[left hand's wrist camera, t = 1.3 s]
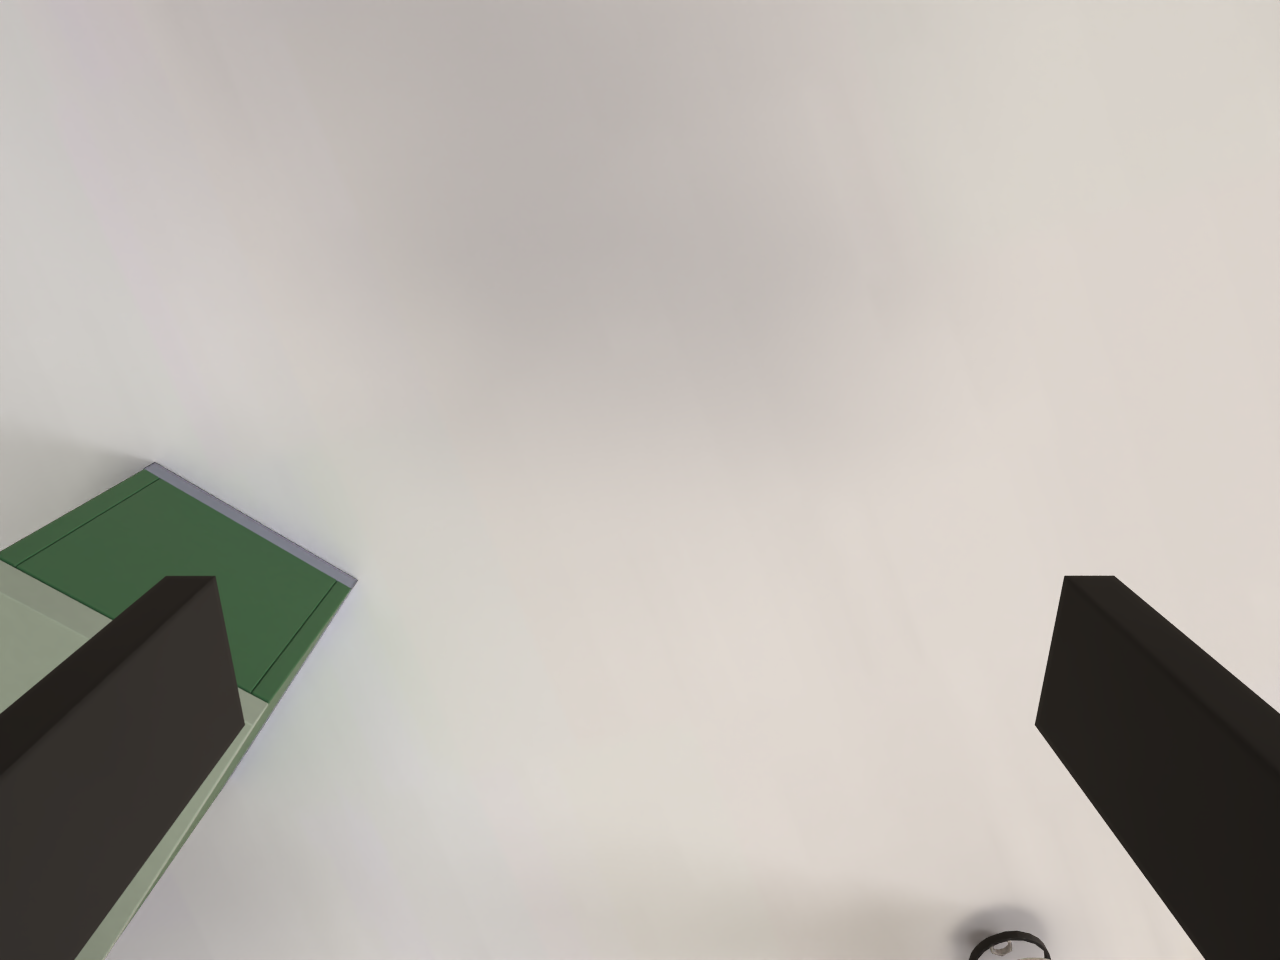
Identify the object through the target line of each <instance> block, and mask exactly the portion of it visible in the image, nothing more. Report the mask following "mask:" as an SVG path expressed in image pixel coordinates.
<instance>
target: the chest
mask: <svg viewBox="0 0 1280 960" xmlns="http://www.w3.org/2000/svg"><path fill="white" fill-rule="evenodd" d="M0 560H1V561H3V562H5V563H7V564H9V565H10V566H12V567H14V568H16V569H18V570H20V571H22V572H23V573H25V574H27V575H29V576H31V577H33V578H35V579H37V580H38V581H40V582H42V583H44V584H46V585H48V586H50V587H51V588H53V589H55V590H57V591H59V592H61V593H63V594H65V595H66V596H68V597H70V598H72V599H74V600H76V601H78V602H79V603H81V604H83V605H85V606H87V607H89V608H91V609H93V610H94V611H96V612H98V613H100V614H102V615H104V616H106V617H108V618H109V619H111V620H113V619H115V618H116V617H117V616H118V615H119V614H121V613H122V612H123V611H124V610H125V609H127V608H128V607H129V606H130V605H132V604H133V603H134V602H135V601H136V600H138V599H139V598H140V597H141V596H142V595H144V594H145V593H146V592H147V591H148V590H150V589H151V588H152V587H153V586H154V585H156V584H157V583H158V582H159V581H160V580H162V579H163V578H164V577H165V576H216V581H217V586H218V591H219V596H220V601H221V606H222V611H223V616H224V621H225V626H226V631H227V636H228V641H229V646H230V651H231V656H232V661H233V666H234V671H235V676H236V681H237V686H238V688H240V689H242V690H244V691H246V692H248V693H249V694H251V695H253V696H255V697H257V698H259V699H261V700H263V701H264V702H266V703H268V706H267V708H266V709H265V711H264V712H263V714H262V716H261V717H260V719H259V720H258V722H257V723H256V725H255V726H254V728H253V730H252V731H251V733H250V734H249V736H248V737H247V739H246V740H245V742H244V744H243V745H242V747H241V748H240V750H239V751H238V753H237V754H236V756H235V757H234V759H233V761H232V762H231V764H230V765H229V767H228V768H227V770H226V771H225V773H224V775H223V776H222V778H221V779H220V781H219V782H218V784H217V785H216V787H215V789H214V790H213V792H212V793H211V795H210V796H209V798H208V799H207V801H206V803H205V804H204V806H203V807H202V809H201V810H200V812H199V813H198V815H197V817H196V818H195V820H194V821H193V823H192V824H191V826H190V827H189V829H188V831H187V832H186V834H185V835H184V837H183V838H182V840H181V841H180V843H179V845H178V846H177V848H176V849H175V851H174V852H173V854H172V855H171V857H170V859H169V860H168V862H167V863H166V865H165V866H164V868H163V869H162V871H161V873H160V874H159V876H158V877H157V879H156V880H155V882H154V883H153V885H152V887H151V888H150V890H149V891H148V893H147V894H146V896H145V897H144V899H143V901H142V902H141V904H140V905H139V907H138V908H137V910H136V911H135V913H134V914H133V916H132V918H133V917H134V915H135V914H136V912H137V911H138V909H139V908H140V907H141V905H142V904H143V902H144V901H145V899H146V898H147V896H148V895H149V894H150V892H151V891H152V889H153V888H154V886H155V885H156V883H157V882H158V881H159V879H160V878H161V876H162V875H163V873H164V872H165V870H166V869H167V868H168V866H169V865H170V863H171V862H172V860H173V859H174V857H175V856H176V855H177V853H178V852H179V850H180V849H181V847H182V846H183V844H184V843H185V842H186V840H187V839H188V837H189V836H190V834H191V833H192V831H193V830H194V829H195V827H196V826H197V824H198V823H199V821H200V820H201V818H202V817H203V816H204V814H205V813H206V811H207V810H208V808H209V807H210V805H211V804H212V803H213V801H214V800H215V798H216V797H217V795H218V794H219V793H220V791H221V790H222V789H223V787H224V786H225V784H226V783H227V781H228V780H229V778H230V777H231V775H232V774H233V772H234V771H235V769H236V768H237V766H238V764H239V763H240V761H241V760H242V758H243V757H244V755H245V754H246V752H247V751H248V749H249V747H250V746H251V744H252V743H253V741H254V740H255V738H256V737H257V735H258V734H259V732H260V730H261V729H262V727H263V726H264V724H265V723H266V721H267V720H268V718H269V717H270V715H271V714H272V712H273V710H274V709H275V707H276V706H277V704H278V703H279V701H280V700H281V698H282V697H283V695H284V693H285V692H286V690H287V689H288V687H289V686H290V684H291V683H292V681H293V680H294V678H295V676H296V675H297V673H298V672H299V670H300V669H301V667H302V666H303V664H304V663H305V661H306V659H307V658H308V656H309V655H310V653H311V652H312V650H313V649H314V647H315V646H316V644H317V642H318V641H319V639H320V638H321V636H322V635H323V633H324V632H325V630H326V629H327V627H328V625H329V624H330V622H331V621H332V619H333V618H334V616H335V615H336V613H337V612H338V610H339V608H340V607H341V605H342V604H343V602H344V601H345V599H346V598H347V596H348V595H349V593H350V592H351V590H352V588H353V587H354V585H355V584H356V582H357V581H358V580H356V579H355V578H353V577H351V576H350V575H348V574H346V573H344V572H343V571H341V570H339V569H338V568H336V567H334V566H332V565H331V564H329V563H327V562H325V561H324V560H322V559H320V558H319V557H317V556H315V555H313V554H312V553H310V552H308V551H307V550H305V549H303V548H301V547H300V546H298V545H296V544H295V543H293V542H291V541H289V540H288V539H286V538H284V537H282V536H281V535H279V534H277V533H276V532H274V531H272V530H270V529H269V528H267V527H265V526H264V525H262V524H260V523H258V522H257V521H255V520H253V519H252V518H250V517H248V516H246V515H245V514H243V513H241V512H239V511H238V510H236V509H234V508H233V507H231V506H229V505H227V504H226V503H224V502H222V501H221V500H219V499H217V498H215V497H214V496H212V495H210V494H209V493H207V492H205V491H203V490H202V489H200V488H198V487H196V486H195V485H193V484H191V483H190V482H188V481H186V480H184V479H183V478H181V477H179V476H178V475H176V474H174V473H172V472H171V471H169V470H167V469H166V468H164V467H162V466H160V465H159V464H157V463H155V462H154V463H153V464H151V465H149V466H147V467H146V468H144V469H143V470H142V471H140V472H138V473H137V474H135V475H133V476H131V477H130V478H128V479H126V480H124V481H123V482H121V483H119V484H118V485H116V486H114V487H112V488H111V489H109V490H107V491H105V492H104V493H102V494H100V495H98V496H97V497H95V498H93V499H91V500H90V501H88V502H86V503H84V504H83V505H81V506H79V507H77V508H76V509H74V510H72V511H70V512H69V513H67V514H65V515H63V516H62V517H60V518H58V519H56V520H55V521H53V522H51V523H49V524H48V525H46V526H44V527H42V528H41V529H39V530H37V531H35V532H34V533H32V534H30V535H28V536H27V537H25V538H23V539H21V540H20V541H18V542H16V543H14V544H13V545H11V546H9V547H7V548H6V549H4V550H2V551H0ZM132 918H131V919H132ZM131 919H130V921H131ZM130 921H129V922H130ZM129 922H128V924H129ZM128 924H127V925H128ZM127 925H126V927H127ZM126 927H125V928H126ZM125 928H124V930H125ZM124 930H123V931H124ZM121 934H122V933H121ZM119 937H120V936H119ZM117 940H118V939H117Z"/></svg>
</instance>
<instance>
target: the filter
mask: <svg viewBox="0 0 1280 960" xmlns="http://www.w3.org/2000/svg"><path fill="white" fill-rule="evenodd" d="M1011 940H1023V941H1027V942H1030V943H1034V944H1036V945H1037V946H1038V947H1040V948H1041V949H1042V950H1044V958H1024V959H1019V960H1051V958H1050V955H1049V952H1048V951H1047V949H1046V947H1045V945H1044V943H1043V942H1042V941H1041V940H1040V939H1039V938H1037V937H1035V936H1033V935H1031V934H1029V933H1025V932H1020V931H1007V932H1002V933H999V934H996V935H993V936H990V937H988V938H986V939H984V940H983V941H981V942H980V943H979V944H978V945H977V946H976V947H975V948H974V950H973V951H972V953H971V955H970V958H969V960H978V958H979V957H980V956H981V955H982V954H983V953H984V952H985V951H986V950H988V949H989V948H990V950H991V952H992V954H996V955H999V956H1004V955H1005V954H1007V953H1009V952H1011V951H1012V942H1011ZM1002 942H1008V945H1007V946H1006V947H1005V948H1003V949H994V948H993V947H994V945H996V944H999V943H1002Z"/></svg>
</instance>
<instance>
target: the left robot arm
mask: <svg viewBox="0 0 1280 960" xmlns="http://www.w3.org/2000/svg"><path fill="white" fill-rule="evenodd" d="M244 726H245V722H244V717H243V712H242V707H241V702H240V697H239V691H238V686H237V681H236V676H235V671H234V666H233V661H232V656H231V651H230V646H229V641H228V636H227V631H226V626H225V621H224V616H223V611H222V606H221V601H220V596H219V591H218V586H217V581H216V576H165V577H164V578H163V579H162V580H160V581H159V582H158V583H157V584H156V585H154V586H153V587H152V588H151V589H150V590H148V591H147V592H146V593H145V594H144V595H142V596H141V597H140V598H139V599H138V600H136V601H135V602H134V603H133V604H132V605H130V606H129V607H128V608H127V609H125V610H124V611H123V612H122V613H121V614H119V615H118V616H117V617H116V618H115V619H113V620H112V621H111V622H110V623H109V624H107V625H106V626H105V627H104V628H103V629H101V630H100V631H99V632H98V633H97V634H95V635H94V636H93V637H92V638H91V639H89V640H88V641H87V642H86V643H85V644H83V645H82V646H81V647H80V648H79V649H77V650H76V651H75V652H74V653H73V654H71V655H70V656H69V657H68V658H67V659H65V660H64V661H63V662H62V663H61V664H59V665H58V666H57V667H56V668H55V669H53V670H52V671H51V672H50V673H49V674H47V675H46V676H45V677H44V678H43V679H41V680H40V681H39V682H38V683H37V684H35V685H34V686H33V687H32V688H31V689H29V690H28V691H27V692H26V693H25V694H23V695H22V696H21V697H20V698H19V699H17V700H16V701H15V702H14V703H13V704H11V705H10V706H9V707H8V708H7V709H5V710H4V711H3V712H2V713H1V714H0V960H75V958H76V957H77V956H78V954H79V953H80V952H81V950H82V949H83V947H84V946H85V945H86V943H87V942H88V941H89V939H90V938H91V936H92V935H93V934H94V932H95V931H96V930H97V928H98V927H99V925H100V924H101V923H102V921H103V920H104V919H105V917H106V916H107V914H108V913H109V912H110V910H111V909H112V908H113V906H114V905H115V903H116V902H117V901H118V899H119V898H120V897H121V895H122V894H123V892H124V891H125V890H126V888H127V887H128V885H129V884H130V883H131V881H132V880H133V879H134V877H135V876H136V874H137V873H138V872H139V870H140V869H141V868H142V866H143V865H144V863H145V862H146V861H147V859H148V858H149V857H150V855H151V854H152V852H153V851H154V850H155V848H156V847H157V846H158V844H159V843H160V841H161V840H162V839H163V837H164V836H165V835H166V833H167V832H168V830H169V829H170V828H171V826H172V825H173V824H174V822H175V821H176V819H177V818H178V817H179V815H180V814H181V813H182V811H183V810H184V808H185V807H186V806H187V804H188V803H189V802H190V800H191V799H192V797H193V796H194V795H195V793H196V792H197V790H198V789H199V788H200V786H201V785H202V784H203V782H204V781H205V779H206V778H207V777H208V775H209V774H210V773H211V771H212V770H213V768H214V767H215V766H216V764H217V763H218V762H219V760H220V759H221V757H222V756H223V755H224V753H225V752H226V751H227V749H228V748H229V746H230V745H231V744H232V742H233V741H234V740H235V738H236V737H237V735H238V734H239V733H240V731H241V730H242V729H243V727H244ZM1035 726H1036V727H1037V729H1038V730H1039V731H1040V733H1041V734H1042V735H1043V737H1044V738H1045V740H1046V741H1047V742H1048V744H1049V745H1050V746H1051V748H1052V749H1053V751H1054V752H1055V753H1056V755H1057V756H1058V757H1059V759H1060V760H1061V762H1062V763H1063V764H1064V766H1065V767H1066V768H1067V770H1068V771H1069V773H1070V774H1071V775H1072V777H1073V778H1074V779H1075V781H1076V782H1077V784H1078V785H1079V786H1080V788H1081V789H1082V790H1083V792H1084V793H1085V795H1086V796H1087V797H1088V799H1089V800H1090V802H1091V803H1092V804H1093V806H1094V807H1095V808H1096V810H1097V811H1098V813H1099V814H1100V815H1101V817H1102V818H1103V819H1104V821H1105V822H1106V824H1107V825H1108V826H1109V828H1110V829H1111V830H1112V832H1113V833H1114V835H1115V836H1116V837H1117V839H1118V840H1119V841H1120V843H1121V844H1122V846H1123V847H1124V848H1125V850H1126V851H1127V852H1128V854H1129V855H1130V857H1131V858H1132V859H1133V861H1134V862H1135V863H1136V865H1137V866H1138V868H1139V869H1140V870H1141V872H1142V873H1143V874H1144V876H1145V877H1146V879H1147V880H1148V881H1149V883H1150V884H1151V885H1152V887H1153V888H1154V890H1155V891H1156V892H1157V894H1158V895H1159V897H1160V898H1161V899H1162V901H1163V902H1164V903H1165V905H1166V906H1167V908H1168V909H1169V910H1170V912H1171V913H1172V914H1173V916H1174V917H1175V919H1176V920H1177V921H1178V923H1179V924H1180V925H1181V927H1182V928H1183V930H1184V931H1185V932H1186V934H1187V935H1188V936H1189V938H1190V939H1191V941H1192V942H1193V943H1194V945H1195V946H1196V947H1197V949H1198V950H1199V952H1200V953H1201V954H1202V956H1203V957H1204V958H1205V960H1280V714H1279V713H1278V712H1277V711H1276V710H1275V709H1273V708H1272V707H1271V706H1270V705H1269V704H1267V703H1266V702H1265V701H1264V700H1263V699H1261V698H1260V697H1259V696H1258V695H1257V694H1255V693H1254V692H1253V691H1252V690H1251V689H1249V688H1248V687H1247V686H1246V685H1245V684H1243V683H1242V682H1241V681H1240V680H1239V679H1237V678H1236V677H1235V676H1234V675H1233V674H1231V673H1230V672H1229V671H1228V670H1227V669H1225V668H1224V667H1223V666H1222V665H1221V664H1219V663H1218V662H1217V661H1216V660H1215V659H1213V658H1212V657H1211V656H1210V655H1209V654H1207V653H1206V652H1205V651H1204V650H1203V649H1201V648H1200V647H1199V646H1198V645H1197V644H1195V643H1194V642H1193V641H1192V640H1191V639H1189V638H1188V637H1187V636H1186V635H1185V634H1183V633H1182V632H1181V631H1180V630H1179V629H1177V628H1176V627H1175V626H1174V625H1173V624H1171V623H1170V622H1169V621H1168V620H1167V619H1165V618H1164V617H1163V616H1162V615H1161V614H1159V613H1158V612H1157V611H1156V610H1155V609H1153V608H1152V607H1151V606H1150V605H1148V604H1147V603H1146V602H1145V601H1144V600H1142V599H1141V598H1140V597H1139V596H1138V595H1136V594H1135V593H1134V592H1133V591H1132V590H1130V589H1129V588H1128V587H1127V586H1126V585H1124V584H1123V583H1122V582H1121V581H1120V580H1118V579H1117V578H1116V577H1115V576H1064V581H1063V586H1062V591H1061V596H1060V601H1059V606H1058V611H1057V616H1056V621H1055V626H1054V631H1053V636H1052V641H1051V646H1050V651H1049V656H1048V661H1047V666H1046V671H1045V676H1044V681H1043V686H1042V691H1041V697H1040V702H1039V707H1038V712H1037V717H1036V722H1035Z"/></svg>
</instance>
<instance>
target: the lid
mask: <svg viewBox="0 0 1280 960" xmlns="http://www.w3.org/2000/svg"><path fill="white" fill-rule="evenodd" d="M111 621H112V620H111V619H109V618H108V617H106V616H104V615H102V614H100V613H98V612H96V611H94V610H93V609H91V608H89V607H87V606H85V605H83V604H81V603H79V602H78V601H76V600H74V599H72V598H70V597H68V596H66V595H65V594H63V593H61V592H59V591H57V590H55V589H53V588H51V587H50V586H48V585H46V584H44V583H42V582H40V581H38V580H37V579H35V578H33V577H31V576H29V575H27V574H25V573H23V572H22V571H20V570H18V569H16V568H14V567H12V566H10V565H9V564H7V563H5V562H3V561H1V560H0V714H1V713H2V712H3V711H4V710H5V709H7V708H8V707H9V706H10V705H11V704H13V703H14V702H15V701H16V700H17V699H19V698H20V697H21V696H22V695H23V694H25V693H26V692H27V691H28V690H29V689H31V688H32V687H33V686H34V685H35V684H37V683H38V682H39V681H40V680H41V679H43V678H44V677H45V676H46V675H47V674H49V673H50V672H51V671H52V670H53V669H55V668H56V667H57V666H58V665H59V664H61V663H62V662H63V661H64V660H65V659H67V658H68V657H69V656H70V655H71V654H73V653H74V652H75V651H76V650H77V649H79V648H80V647H81V646H82V645H83V644H85V643H86V642H87V641H88V640H89V639H91V638H92V637H93V636H94V635H95V634H97V633H98V632H99V631H100V630H101V629H103V628H104V627H105V626H106V625H107V624H109V623H110V622H111ZM238 691H239V697H240V702H241V707H242V712H243V717H244V722H245V726H244V727H243V729H242V730H241V731H240V733H239V734H238V735H237V737H236V738H235V740H234V741H233V742H232V744H231V745H230V746H229V748H228V749H227V751H226V752H225V753H224V755H223V756H222V757H221V759H220V760H219V762H218V763H217V764H216V766H215V767H214V768H213V770H212V771H211V773H210V774H209V775H208V777H207V778H206V779H205V781H204V782H203V784H202V785H201V786H200V788H199V789H198V790H197V792H196V793H195V795H194V796H193V797H192V799H191V800H190V802H189V803H188V804H187V806H186V807H185V808H184V810H183V811H182V813H181V814H180V815H179V817H178V818H177V819H176V821H175V822H174V824H173V825H172V826H171V828H170V829H169V830H168V832H167V833H166V835H165V836H164V837H163V839H162V840H161V841H160V843H159V844H158V846H157V847H156V848H155V850H154V851H153V852H152V854H151V855H150V857H149V858H148V859H147V861H146V862H145V863H144V865H143V866H142V868H141V869H140V870H139V872H138V873H137V874H136V876H135V877H134V879H133V880H132V881H131V883H130V884H129V885H128V887H127V888H126V890H125V891H124V892H123V894H122V895H121V897H120V898H119V899H118V901H117V902H116V903H115V905H114V906H113V908H112V909H111V910H110V912H109V913H108V914H107V916H106V917H105V919H104V920H103V921H102V923H101V924H100V925H99V927H98V928H97V930H96V931H95V932H94V934H93V935H92V936H91V938H90V939H89V941H88V942H87V943H86V945H85V946H84V947H83V949H82V950H81V952H80V953H79V954H78V956H77V957H76V958H75V960H104V959H105V958H106V956H107V955H108V953H109V952H110V950H111V949H112V947H113V946H114V944H115V942H116V941H117V939H118V938H119V936H120V935H121V933H122V932H123V930H124V928H125V927H126V925H127V924H128V922H129V921H130V919H131V918H132V916H133V914H134V913H135V911H136V910H137V908H138V907H139V905H140V904H141V902H142V901H143V899H144V897H145V896H146V894H147V893H148V891H149V890H150V888H151V887H152V885H153V883H154V882H155V880H156V879H157V877H158V876H159V874H160V873H161V871H162V869H163V868H164V866H165V865H166V863H167V862H168V860H169V859H170V857H171V855H172V854H173V852H174V851H175V849H176V848H177V846H178V845H179V843H180V841H181V840H182V838H183V837H184V835H185V834H186V832H187V831H188V829H189V827H190V826H191V824H192V823H193V821H194V820H195V818H196V817H197V815H198V813H199V812H200V810H201V809H202V807H203V806H204V804H205V803H206V801H207V799H208V798H209V796H210V795H211V793H212V792H213V790H214V789H215V787H216V785H217V784H218V782H219V781H220V779H221V778H222V776H223V775H224V773H225V771H226V770H227V768H228V767H229V765H230V764H231V762H232V761H233V759H234V757H235V756H236V754H237V753H238V751H239V750H240V748H241V747H242V745H243V744H244V742H245V740H246V739H247V737H248V736H249V734H250V733H251V731H252V730H253V728H254V726H255V725H256V723H257V722H258V720H259V719H260V717H261V716H262V714H263V712H264V711H265V709H266V708H267V706H268V703H266V702H264V701H263V700H261V699H259V698H257V697H255V696H253V695H251V694H249V693H248V692H246V691H244V690H242V689H240V688H238Z"/></svg>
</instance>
